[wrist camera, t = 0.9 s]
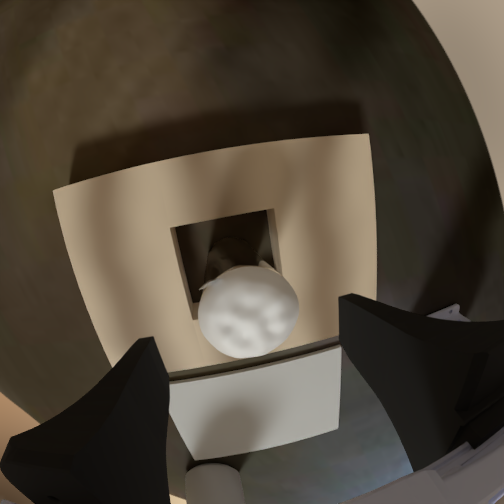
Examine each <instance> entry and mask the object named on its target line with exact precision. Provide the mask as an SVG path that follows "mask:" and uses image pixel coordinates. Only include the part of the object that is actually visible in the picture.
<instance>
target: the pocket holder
mask: <svg viewBox="0 0 504 504" xmlns="http://www.w3.org/2000/svg"><path fill="white" fill-rule="evenodd" d="M53 194H54V199H55V203H56V208H57V212H58V216H59V221H60V225H61V228H62V232H63V236H64V240H65V243H66V247H67V250H68V254H69V257H70V260H71V264H72V267H73V270H74V273H75V276H76V279H77V282H78V285H79V288H80V291H81V293H82V296H83V299H84V302H85V304H86V307H87V310H88V312H89V315H90V317H91V320H92V322H93V325H94V327H95V330H96V332H97V334H98V337H99V339H100V341H101V344H102V346H103V348H104V350H105V353H106V355H107V357H108V359H109V361H110V363H111V365H112V368H113V367H114V366H115V364H116V363H117V362H118V361H119V360H120V359H121V358H122V356H123V355H124V354H125V353H126V352H127V351H128V349H129V348H130V347H131V346H132V345H133V344H134V343H135V342H136V341H137V340H138V339H139V338H144V337H151V336H154V339H155V342H156V344H157V347H158V350H159V352H160V355H161V358H162V360H163V363H164V365H165V368H166V370H167V372H173V371H179V370H186V369H192V368H198V367H204V366H209V365H215V364H220V363H225V362H230V361H235V360H240V359H245V358H234V357H230V356H228V355H225V354H223V353H222V352H220V351H218V350H217V349H216V348H215V347H214V346H212V345H211V344H210V342H209V341H208V340H207V339H206V338H205V337H204V335H203V333H202V331H201V329H200V326H199V321H198V308H199V303H200V302H197V303H193V302H192V298H191V294H190V290H189V286H188V282H187V278H186V274H185V269H184V265H183V261H182V257H181V252H180V248H179V243H178V239H177V234H176V230H175V227H176V226H181V225H186V224H191V223H196V222H201V221H206V220H212V219H217V218H222V217H227V216H233V215H238V214H244V213H249V212H255V211H260V210H267V217H268V224H269V232H270V239H271V246H272V254H273V261H274V268H275V270H276V271H277V272H278V273H279V274H280V275H281V276H283V277H284V278H285V279H286V280H287V281H288V282H289V284H290V285H291V286H292V288H293V289H294V291H295V293H296V295H297V298H298V301H299V315H298V319H297V321H296V324H295V326H294V328H293V330H292V332H291V334H290V335H289V337H288V338H287V339H286V340H285V341H284V342H283V343H282V344H281V345H279V346H278V347H276V348H275V349H274V350H272V351H271V352H269V353H272V352H276V351H281V350H285V349H289V348H293V347H297V346H301V345H305V344H308V343H312V342H316V341H319V340H323V339H327V338H330V337H334V336H337V335H339V307H338V297H339V296H343V295H347V294H350V293H354V294H358V295H361V296H364V297H367V298H370V299H372V300H375V301H376V286H377V239H376V212H375V194H374V181H373V169H372V159H371V149H370V141H369V134H353V135H336V136H323V137H311V138H300V139H291V140H282V141H273V142H265V143H258V144H251V145H244V146H237V147H231V148H225V149H219V150H213V151H207V152H202V153H196V154H191V155H186V156H181V157H176V158H171V159H167V160H162V161H158V162H153V163H149V164H144V165H140V166H136V167H132V168H128V169H124V170H120V171H116V172H113V173H109V174H105V175H102V176H98V177H95V178H91V179H88V180H84V181H81V182H78V183H74V184H71V185H68V186H65V187H62V188H59V189H56V190H53ZM267 354H268V353H267ZM249 358H250V357H249Z"/></svg>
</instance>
